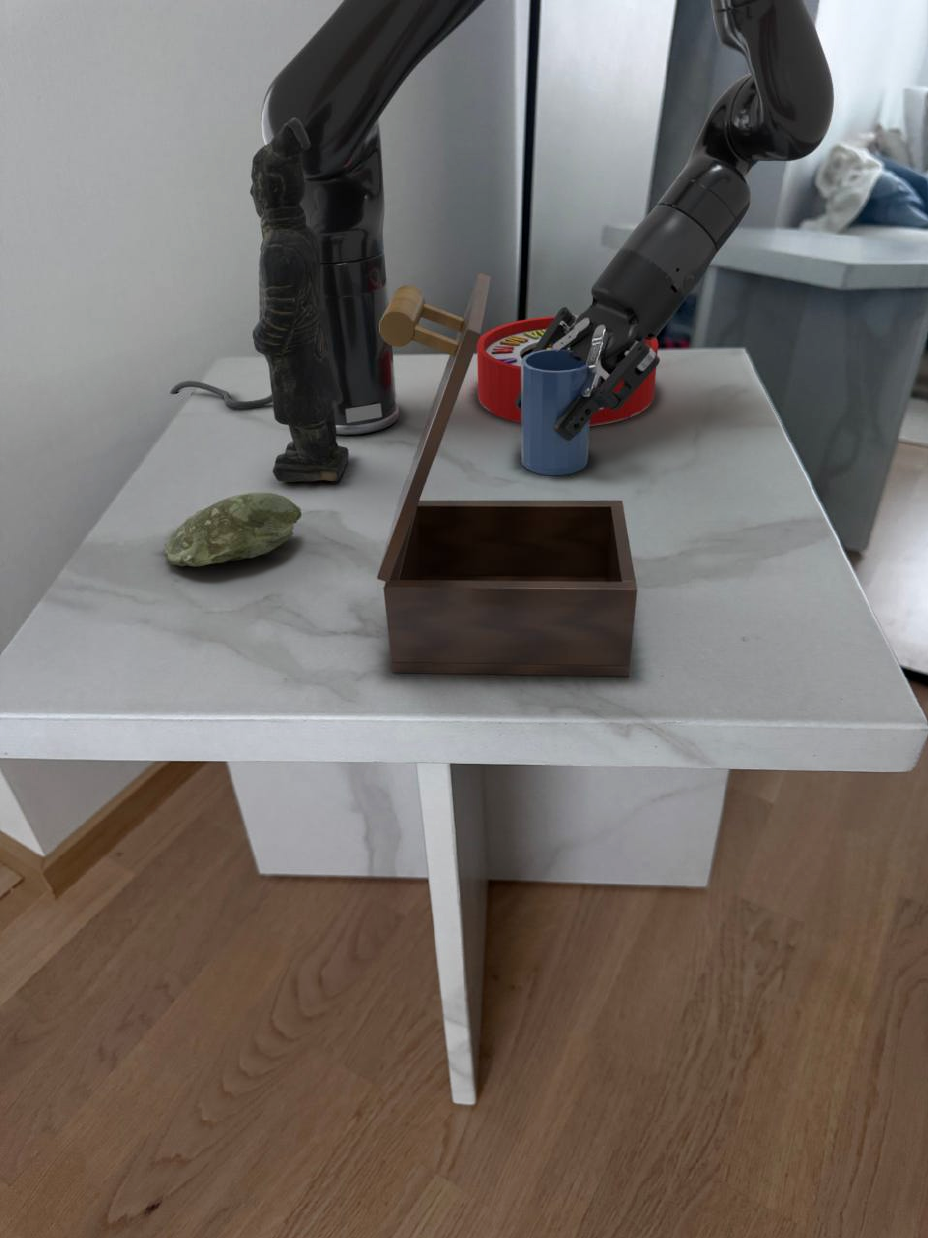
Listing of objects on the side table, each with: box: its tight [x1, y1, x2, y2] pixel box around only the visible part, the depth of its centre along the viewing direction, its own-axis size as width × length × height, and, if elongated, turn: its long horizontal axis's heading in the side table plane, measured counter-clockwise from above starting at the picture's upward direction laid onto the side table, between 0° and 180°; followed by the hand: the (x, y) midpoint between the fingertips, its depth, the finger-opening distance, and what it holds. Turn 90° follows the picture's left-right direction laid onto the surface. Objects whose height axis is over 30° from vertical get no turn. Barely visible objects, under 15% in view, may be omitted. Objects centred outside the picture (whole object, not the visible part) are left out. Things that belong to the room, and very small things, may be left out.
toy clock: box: [476, 316, 659, 427], centre depth 97 cm, size 20×6×20 cm
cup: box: [520, 349, 591, 476], centre depth 82 cm, size 6×6×10 cm
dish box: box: [382, 500, 638, 677], centre depth 60 cm, size 16×12×7 cm
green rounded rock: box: [164, 491, 302, 567], centre depth 72 cm, size 10×7×10 cm
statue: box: [249, 117, 350, 483], centre depth 76 cm, size 10×7×30 cm
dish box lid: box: [376, 272, 492, 583], centre depth 54 cm, size 17×12×5 cm
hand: (540, 422), depth 81 cm, fingers closed on cup, 6 cm apart
